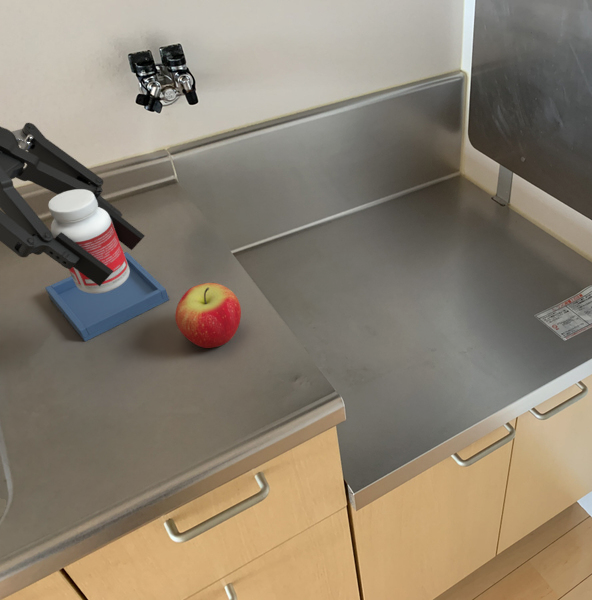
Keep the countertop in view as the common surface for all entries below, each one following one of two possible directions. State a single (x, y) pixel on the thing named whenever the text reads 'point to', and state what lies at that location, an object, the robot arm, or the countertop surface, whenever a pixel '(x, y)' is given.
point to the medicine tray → (107, 301)
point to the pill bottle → (89, 236)
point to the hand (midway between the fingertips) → (122, 260)
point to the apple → (208, 315)
